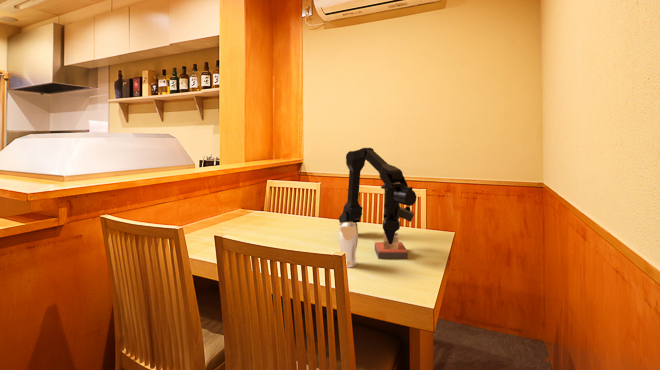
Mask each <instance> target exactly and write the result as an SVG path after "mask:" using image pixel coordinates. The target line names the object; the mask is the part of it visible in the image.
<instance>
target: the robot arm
mask: <svg viewBox="0 0 660 370" xmlns="http://www.w3.org/2000/svg"><path fill="white" fill-rule="evenodd" d="M366 161H367V163H369V164H370V166H372V167H373V168H374V169H375V170H376V171H377V172H378V175H379V178H380V180H381V181H382V183H383V185H382V186H380V189H382V190H384V191H383V194H384V197H383V201H384V202H383V218H382V219H383V220H382V230H383V233H384V232H385V235H386V237H387V240H388V242H389V244H392V242H393V238H394V234H395V233H397V232H398V231H399V230H400V229H401V223H400V222H401V221H400V219H404V220H407V222H409V223H410V222H411V223H412V220H413V218H414V215H415V213H414V212H413V211H412V210H411V206H413V205H415V203H416V201H417V194H416V192H415V191H414V190H413V189H414V188H413V187H412V186H408V185H409V184H408V183H407V181H406V178H405V176H404V174H403V171H402V170H401V169H400V168H398V167H396V166H395V165H392V164H389V163H388V162H387V161H385V160H384V159H383V158H382V157H381V156H380V155H379V154H378V153H377V152H375V150H374V148H373V147H362V148H360V149H357V150H349V151H348V152H347V153H346V155H345V163H346V167H347V169H348V170H349V171H348V185H347V186H348V188H347V190H348V191H347V200H346V203H345V204H344V206H343V209H342V213H341V215H340V216H339V217H338V220H339V221H338V222H339V224H340V223H343V222H354V223H357V224H358V223H360V222H361V219H362V216H363V206H362V205H360V203H359V199H360V198H359V197H360V185H361V184H360V183H361V171H362V170H363V168H364V167H365V164H366ZM401 205H403V206H405V207H401Z"/></svg>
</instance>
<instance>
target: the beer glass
mask: <svg viewBox="0 0 660 370" xmlns="http://www.w3.org/2000/svg"><path fill="white" fill-rule="evenodd" d="M358 225H359V224H358V222H357V223H354V222H343V223H340V222H339V224H338V243H339V248H340V249H339V250H340V253H341V252H345V253H346V259H347V267H348V268H355V267H356V266H357V263H358V262H357V260H356V259H357V258H356V257H357V256H356V254H357V247H358V242H359V226H358Z"/></svg>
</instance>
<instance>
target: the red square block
mask: <svg viewBox="0 0 660 370" xmlns="http://www.w3.org/2000/svg"><path fill="white" fill-rule="evenodd" d="M383 245H384V241H383V242H382V241H381V242H380V241H375V242H374V252H375V253H376V256H377V259H378V260H408V257H409V256H408V252H409V251H408V250H407V248H406V247H405V245H404V243H403V242H402V241H398V249H383Z"/></svg>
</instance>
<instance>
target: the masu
mask: <svg viewBox="0 0 660 370" xmlns="http://www.w3.org/2000/svg"><path fill="white" fill-rule="evenodd" d="M383 242H384V245H383V249H398V242H399V232H395V234H394V238H393V242H392V244H389V242H388V240H387V237H386V235H385V232H384V231H383Z"/></svg>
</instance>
